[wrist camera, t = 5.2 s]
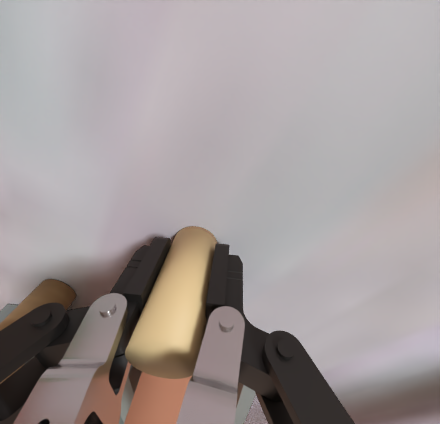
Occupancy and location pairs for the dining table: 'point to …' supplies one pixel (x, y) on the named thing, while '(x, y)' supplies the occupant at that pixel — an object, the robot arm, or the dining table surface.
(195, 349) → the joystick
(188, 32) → the dining table surface
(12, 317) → the birch block
